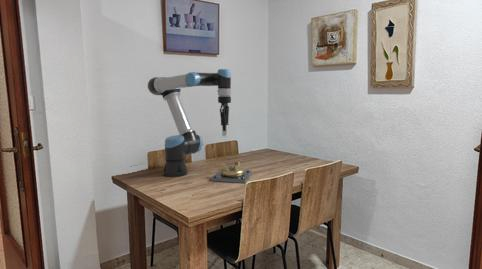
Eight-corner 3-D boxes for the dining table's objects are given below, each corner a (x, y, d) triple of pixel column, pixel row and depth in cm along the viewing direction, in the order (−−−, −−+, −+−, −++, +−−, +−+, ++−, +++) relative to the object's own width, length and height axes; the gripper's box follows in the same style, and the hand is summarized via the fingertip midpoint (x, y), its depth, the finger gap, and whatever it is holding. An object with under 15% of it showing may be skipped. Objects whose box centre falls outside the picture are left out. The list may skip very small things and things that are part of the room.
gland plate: (211, 181, 196) (211, 176, 195) (220, 172, 215) (220, 168, 215) (245, 183, 191) (245, 178, 191) (252, 174, 211) (252, 170, 210)
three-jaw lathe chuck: (235, 178, 193) (235, 167, 192) (215, 174, 201) (215, 164, 200) (248, 172, 205) (248, 162, 204) (229, 169, 212) (229, 159, 211)
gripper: (221, 95, 207) (221, 134, 210) (215, 96, 194) (215, 137, 198) (233, 95, 205) (233, 134, 208) (227, 96, 193) (228, 137, 196)
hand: (224, 136), depth 203 cm, fingers closed
